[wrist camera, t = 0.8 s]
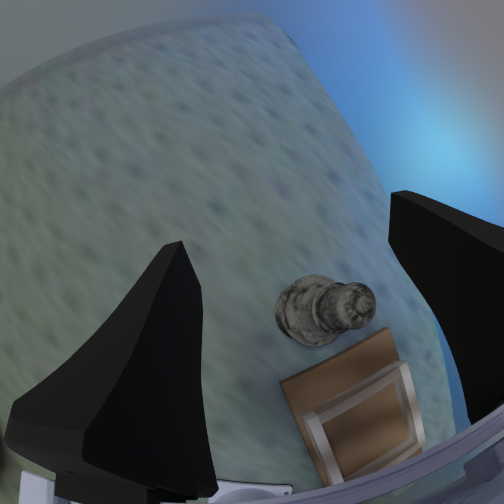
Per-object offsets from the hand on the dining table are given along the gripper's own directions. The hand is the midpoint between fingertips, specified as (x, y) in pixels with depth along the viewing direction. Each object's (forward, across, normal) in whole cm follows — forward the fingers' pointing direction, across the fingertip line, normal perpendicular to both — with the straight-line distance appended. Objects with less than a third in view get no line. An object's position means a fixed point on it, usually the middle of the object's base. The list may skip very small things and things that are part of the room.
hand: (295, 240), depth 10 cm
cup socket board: (0, -5, +25) cm, 25 cm away
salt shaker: (+10, -1, +15) cm, 18 cm away
